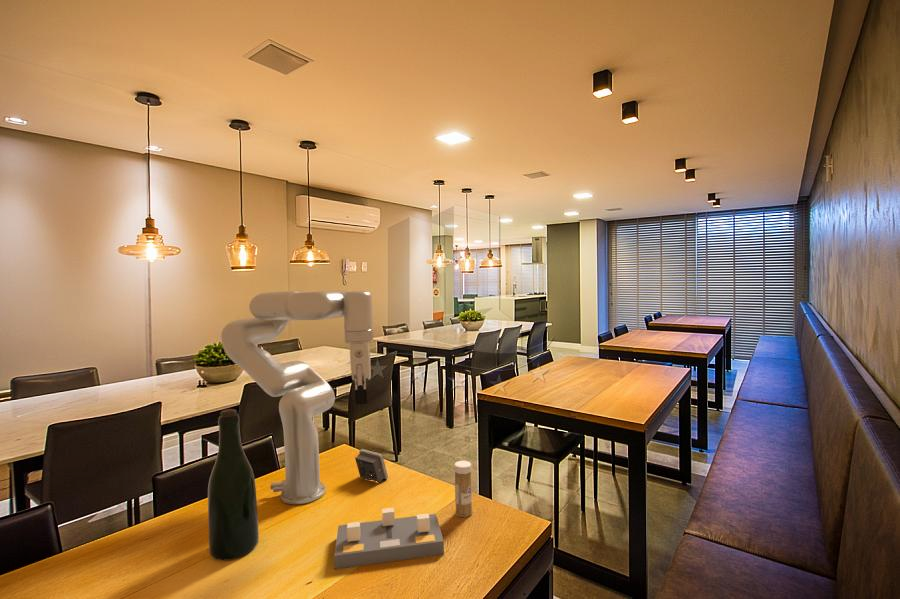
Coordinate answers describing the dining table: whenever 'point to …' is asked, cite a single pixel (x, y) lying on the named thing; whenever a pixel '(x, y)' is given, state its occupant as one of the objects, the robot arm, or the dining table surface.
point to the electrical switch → (371, 465)
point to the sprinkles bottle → (463, 488)
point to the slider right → (423, 523)
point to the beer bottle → (231, 495)
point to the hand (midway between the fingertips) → (361, 403)
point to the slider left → (353, 531)
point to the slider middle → (388, 516)
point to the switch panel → (388, 542)
